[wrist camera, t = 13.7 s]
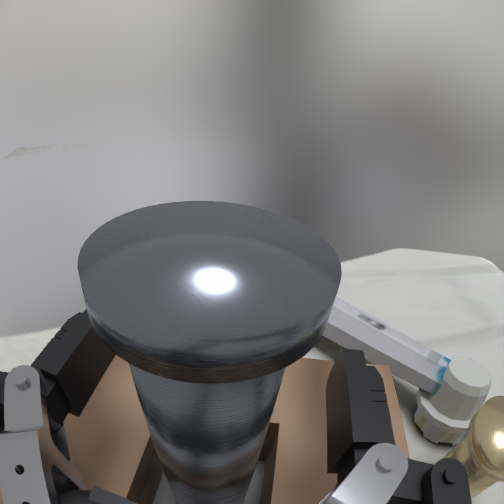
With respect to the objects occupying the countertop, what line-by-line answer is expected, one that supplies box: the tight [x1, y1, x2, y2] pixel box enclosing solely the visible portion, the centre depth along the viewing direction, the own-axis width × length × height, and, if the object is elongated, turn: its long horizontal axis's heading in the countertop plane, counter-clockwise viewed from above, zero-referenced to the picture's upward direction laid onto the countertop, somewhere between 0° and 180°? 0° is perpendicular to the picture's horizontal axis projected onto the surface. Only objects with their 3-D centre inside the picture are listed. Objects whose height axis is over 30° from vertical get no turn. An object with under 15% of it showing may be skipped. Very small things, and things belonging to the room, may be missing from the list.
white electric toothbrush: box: [323, 296, 491, 446], centre depth 23 cm, size 5×7×25 cm
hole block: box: [0, 355, 409, 504], centre depth 12 cm, size 20×16×5 cm
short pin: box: [434, 396, 504, 498], centre depth 11 cm, size 5×5×8 cm
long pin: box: [78, 201, 342, 504], centre depth 10 cm, size 5×5×16 cm
